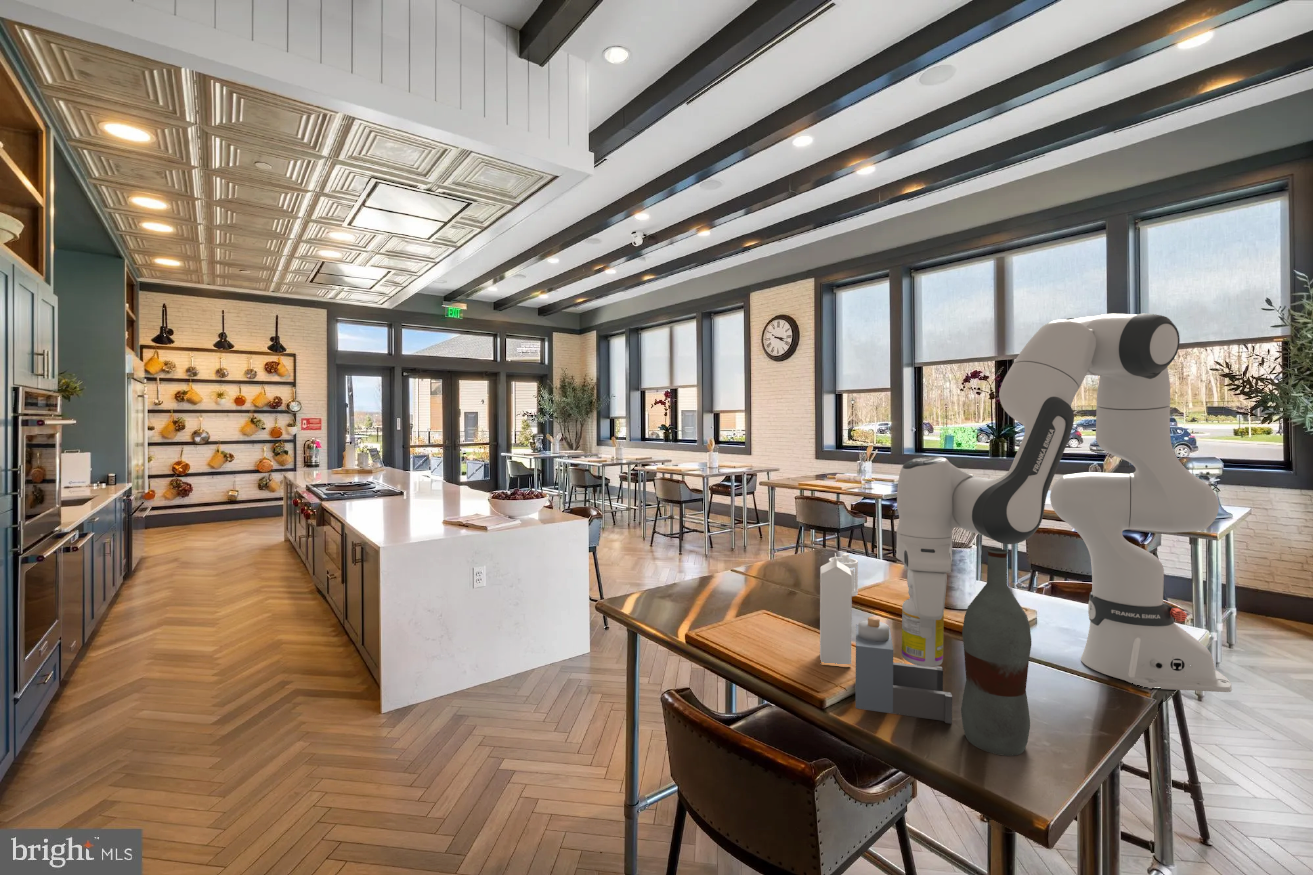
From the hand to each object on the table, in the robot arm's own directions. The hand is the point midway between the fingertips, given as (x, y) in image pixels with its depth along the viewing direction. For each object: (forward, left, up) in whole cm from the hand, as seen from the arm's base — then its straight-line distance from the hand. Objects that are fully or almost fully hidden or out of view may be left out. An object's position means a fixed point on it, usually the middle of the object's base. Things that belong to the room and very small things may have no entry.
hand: (922, 628), depth 103 cm
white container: (+14, -45, -14) cm, 49 cm away
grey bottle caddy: (+4, -2, -13) cm, 14 cm away
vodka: (-9, +10, -14) cm, 19 cm away
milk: (+15, -14, -14) cm, 25 cm away
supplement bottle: (0, 0, -6) cm, 6 cm away
